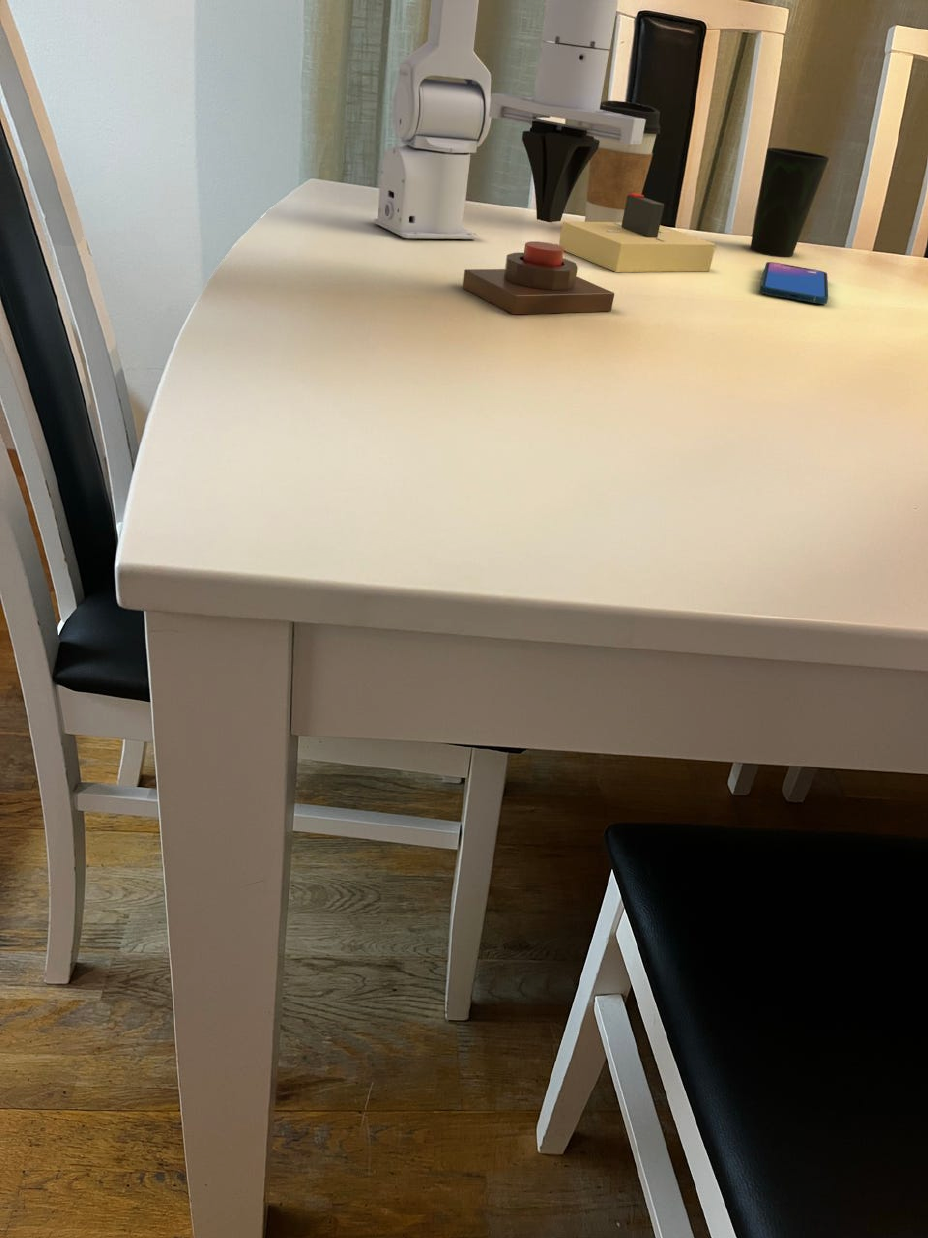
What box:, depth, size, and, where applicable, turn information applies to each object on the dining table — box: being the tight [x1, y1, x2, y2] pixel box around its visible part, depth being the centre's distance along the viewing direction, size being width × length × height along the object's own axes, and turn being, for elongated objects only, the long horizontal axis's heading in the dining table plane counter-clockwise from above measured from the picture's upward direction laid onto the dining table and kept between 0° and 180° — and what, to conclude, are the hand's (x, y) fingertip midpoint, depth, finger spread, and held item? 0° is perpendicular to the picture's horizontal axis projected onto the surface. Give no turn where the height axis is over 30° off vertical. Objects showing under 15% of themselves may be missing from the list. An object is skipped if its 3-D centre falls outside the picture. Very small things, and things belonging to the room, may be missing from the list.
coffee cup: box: [584, 100, 661, 223], centre depth 121 cm, size 8×8×15 cm
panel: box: [558, 220, 717, 273], centre depth 112 cm, size 14×11×3 cm
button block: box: [462, 252, 615, 316], centre depth 90 cm, size 11×9×4 cm
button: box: [523, 240, 565, 267], centre depth 89 cm, size 4×4×2 cm
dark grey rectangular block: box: [621, 193, 665, 237], centre depth 111 cm, size 5×2×4 cm, turn 27°
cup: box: [750, 147, 830, 258], centre depth 126 cm, size 8×8×12 cm
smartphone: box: [759, 261, 829, 305], centre depth 110 cm, size 7×1×15 cm
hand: (548, 220), depth 87 cm, fingers closed
